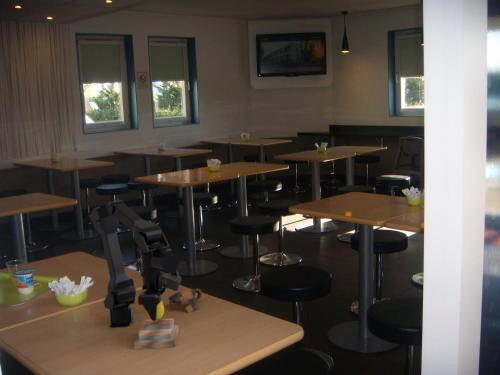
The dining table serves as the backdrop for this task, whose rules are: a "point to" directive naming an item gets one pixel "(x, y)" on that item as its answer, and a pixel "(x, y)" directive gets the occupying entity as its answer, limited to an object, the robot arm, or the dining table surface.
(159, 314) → the lemon
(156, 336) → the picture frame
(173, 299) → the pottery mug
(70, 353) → the dining table surface
